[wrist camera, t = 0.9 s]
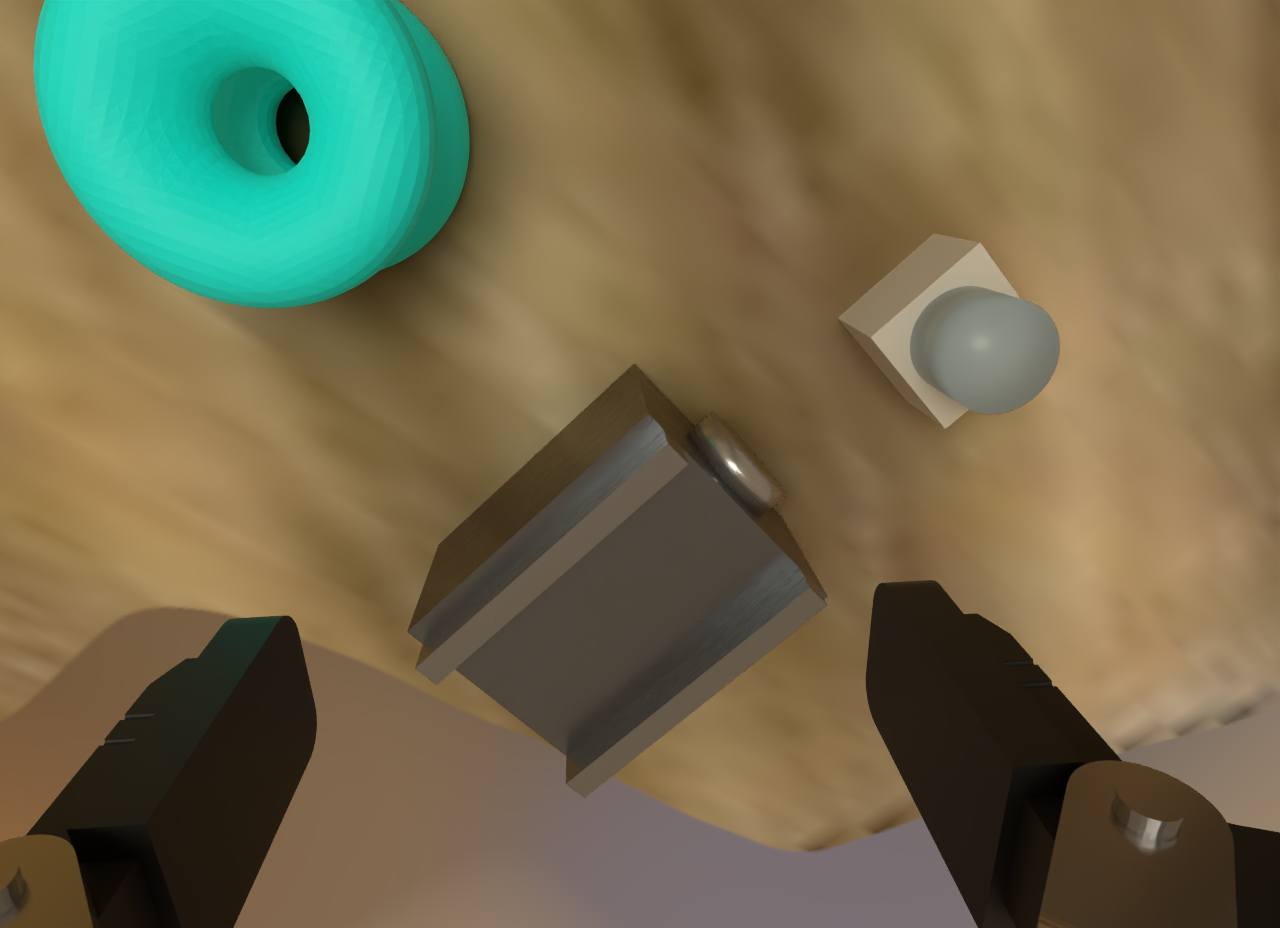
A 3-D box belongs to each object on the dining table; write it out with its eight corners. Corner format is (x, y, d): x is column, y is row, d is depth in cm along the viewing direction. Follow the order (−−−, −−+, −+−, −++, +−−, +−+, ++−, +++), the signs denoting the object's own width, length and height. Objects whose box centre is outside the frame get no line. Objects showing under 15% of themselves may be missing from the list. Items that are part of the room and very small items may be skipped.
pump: (933, 233, 32) (1024, 251, 25) (998, 322, 33) (1100, 360, 27) (837, 317, 33) (901, 355, 26) (905, 400, 34) (982, 455, 28)
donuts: (475, -9, 19) (370, 367, 22) (509, 47, 28) (431, 307, 31) (31, -207, 17) (-16, 236, 20) (224, -77, 26) (171, 213, 29)
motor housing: (655, 344, 33) (680, 402, 25) (802, 501, 36) (866, 597, 28) (438, 544, 35) (398, 655, 27) (593, 674, 38) (597, 807, 30)
